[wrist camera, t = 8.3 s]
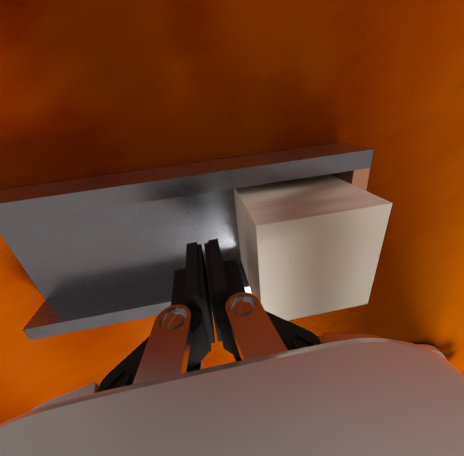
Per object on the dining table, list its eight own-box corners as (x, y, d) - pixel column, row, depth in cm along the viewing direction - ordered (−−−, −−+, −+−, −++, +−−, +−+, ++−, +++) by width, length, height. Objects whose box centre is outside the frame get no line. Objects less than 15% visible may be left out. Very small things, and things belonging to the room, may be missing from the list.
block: (322, 170, 15) (392, 203, 10) (315, 246, 18) (367, 303, 12) (232, 184, 14) (255, 226, 9) (241, 260, 17) (262, 325, 12)
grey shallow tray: (339, 142, 15) (373, 149, 12) (326, 252, 19) (350, 277, 16) (-15, 191, 13) (-72, 214, 10) (57, 302, 17) (31, 340, 15)
